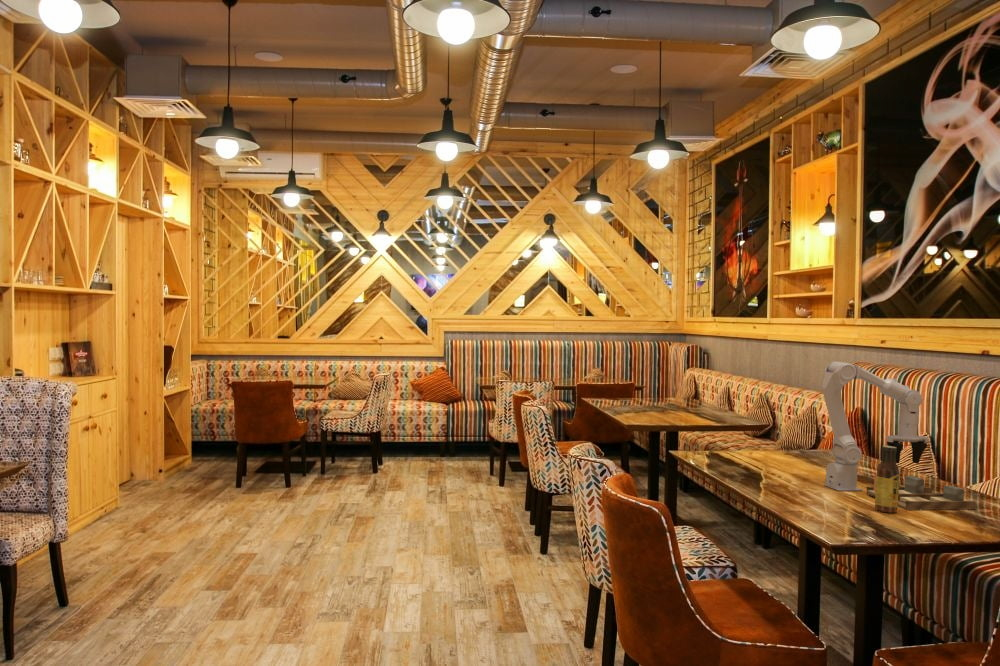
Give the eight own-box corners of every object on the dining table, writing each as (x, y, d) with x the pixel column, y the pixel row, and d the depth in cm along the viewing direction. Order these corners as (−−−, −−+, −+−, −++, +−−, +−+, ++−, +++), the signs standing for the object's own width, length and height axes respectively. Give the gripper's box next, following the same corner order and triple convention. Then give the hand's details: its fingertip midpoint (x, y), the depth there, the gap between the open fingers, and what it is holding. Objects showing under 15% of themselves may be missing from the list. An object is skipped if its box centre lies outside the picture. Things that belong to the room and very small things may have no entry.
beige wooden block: (882, 498, 232) (883, 480, 232) (867, 493, 239) (868, 475, 239) (925, 498, 235) (926, 480, 235) (909, 492, 242) (910, 475, 241)
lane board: (907, 510, 222) (908, 491, 222) (866, 494, 240) (867, 477, 240) (975, 509, 226) (976, 491, 226) (929, 494, 245) (930, 477, 244)
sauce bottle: (896, 515, 215) (900, 449, 215) (873, 511, 219) (877, 446, 218) (898, 510, 221) (901, 446, 221) (875, 506, 224) (878, 444, 224)
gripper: (897, 425, 242) (895, 465, 243) (935, 425, 245) (933, 465, 245) (883, 422, 249) (881, 460, 249) (920, 422, 252) (917, 461, 252)
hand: (905, 462), depth 248 cm, fingers open, 7 cm apart
